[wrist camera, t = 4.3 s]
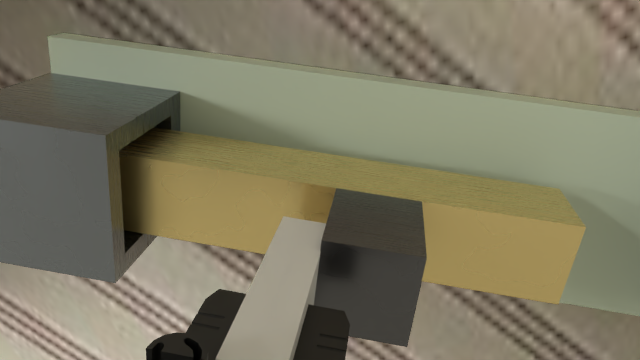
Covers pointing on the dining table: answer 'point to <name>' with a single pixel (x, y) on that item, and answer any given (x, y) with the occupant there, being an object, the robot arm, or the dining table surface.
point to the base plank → (410, 136)
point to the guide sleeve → (72, 171)
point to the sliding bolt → (355, 222)
